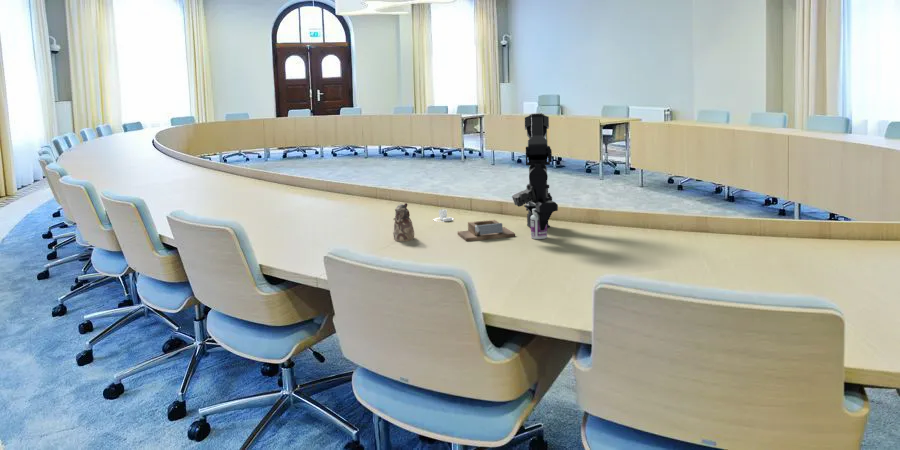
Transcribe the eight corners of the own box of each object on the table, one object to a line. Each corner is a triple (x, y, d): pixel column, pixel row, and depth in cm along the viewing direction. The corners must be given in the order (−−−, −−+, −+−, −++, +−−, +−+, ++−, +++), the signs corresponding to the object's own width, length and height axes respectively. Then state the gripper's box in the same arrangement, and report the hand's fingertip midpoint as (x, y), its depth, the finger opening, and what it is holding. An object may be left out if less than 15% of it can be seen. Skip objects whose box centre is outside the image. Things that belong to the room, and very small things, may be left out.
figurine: (389, 239, 233) (386, 204, 231) (404, 235, 238) (402, 201, 236) (403, 242, 229) (401, 206, 226) (418, 238, 234) (416, 203, 231)
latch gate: (501, 231, 231) (500, 222, 231) (502, 232, 230) (502, 223, 229) (474, 234, 229) (474, 225, 228) (476, 235, 228) (475, 226, 227)
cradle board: (504, 229, 241) (504, 218, 240) (515, 236, 230) (514, 224, 229) (457, 234, 237) (457, 223, 236) (466, 241, 226) (465, 229, 225)
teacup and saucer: (453, 222, 258) (453, 212, 257) (432, 223, 258) (432, 213, 258) (454, 218, 267) (453, 207, 266) (433, 219, 267) (432, 208, 266)
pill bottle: (548, 236, 228) (548, 207, 226) (545, 239, 224) (545, 210, 222) (532, 235, 230) (532, 207, 228) (529, 239, 225) (528, 210, 223)
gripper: (505, 179, 230) (506, 225, 233) (524, 187, 212) (525, 237, 216) (536, 177, 233) (537, 222, 236) (558, 184, 215) (558, 233, 218)
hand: (538, 228), depth 226 cm, fingers closed on pill bottle, 5 cm apart
